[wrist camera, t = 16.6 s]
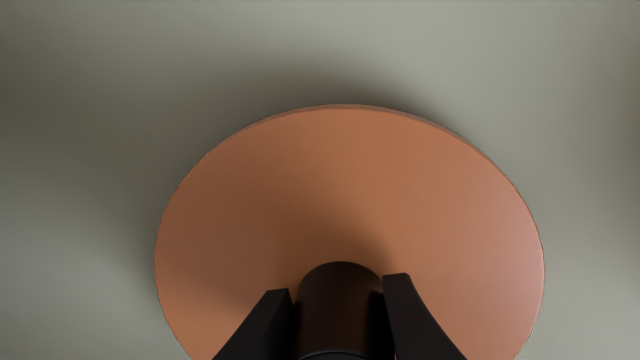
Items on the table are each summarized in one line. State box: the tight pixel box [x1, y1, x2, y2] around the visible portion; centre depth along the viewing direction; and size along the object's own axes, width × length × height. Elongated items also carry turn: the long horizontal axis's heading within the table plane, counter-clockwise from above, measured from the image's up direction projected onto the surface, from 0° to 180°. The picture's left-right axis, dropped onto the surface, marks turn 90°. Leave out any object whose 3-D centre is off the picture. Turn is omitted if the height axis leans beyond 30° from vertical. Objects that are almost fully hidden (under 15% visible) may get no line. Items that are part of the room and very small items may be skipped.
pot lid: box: [154, 104, 545, 360], centre depth 11 cm, size 11×11×4 cm
